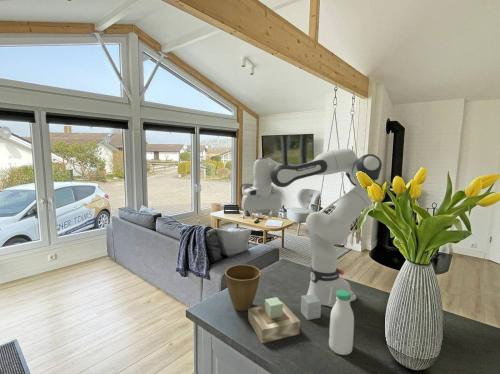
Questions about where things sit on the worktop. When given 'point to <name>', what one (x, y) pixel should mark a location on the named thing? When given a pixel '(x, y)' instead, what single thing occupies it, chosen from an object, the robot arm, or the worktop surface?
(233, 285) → the plant pot
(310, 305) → the product box
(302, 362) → the worktop surface
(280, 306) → the sage block
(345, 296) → the milk bottle
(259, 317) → the birch plinth
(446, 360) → the worktop surface
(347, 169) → the robot arm
